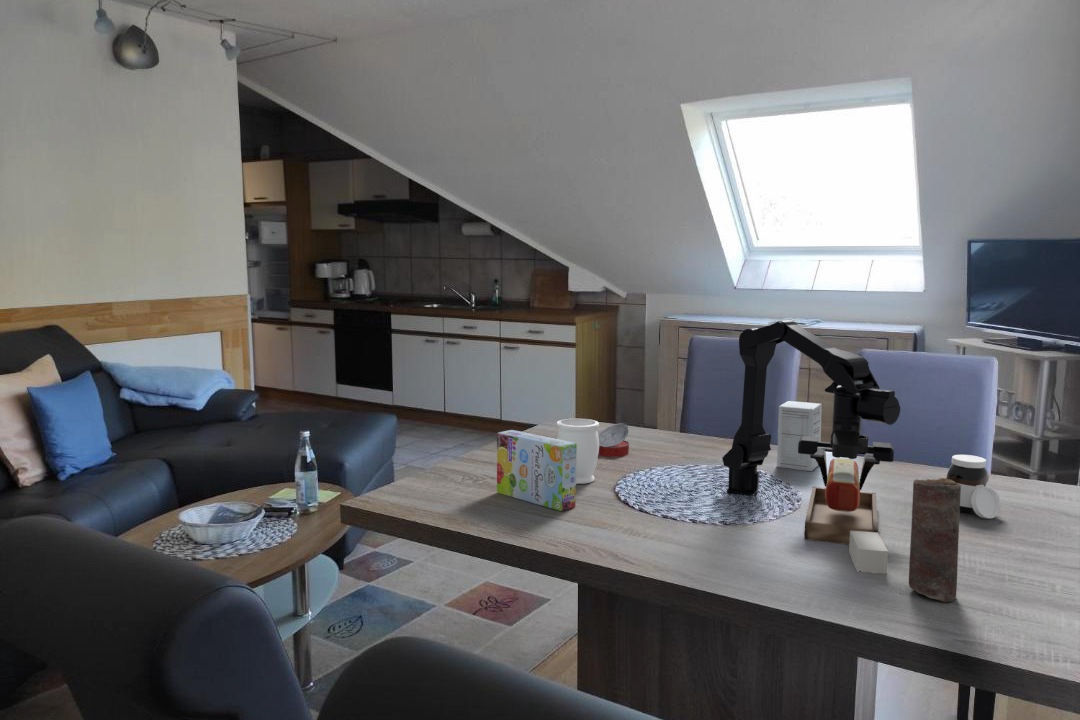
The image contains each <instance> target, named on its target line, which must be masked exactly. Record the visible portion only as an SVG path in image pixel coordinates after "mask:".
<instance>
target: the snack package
mask: <svg viewBox="0 0 1080 720" xmlns="http://www.w3.org/2000/svg"><path fill="white" fill-rule="evenodd" d="M859 474H860V473H859V465H858V463H857V461H855V459H849V458H843V457H840V458H836V457H835V458H833V459H831V460H830V462H829V466H828V470H827V485H826V486H825V487H824V488H825V499H826V503H827V505H828V507H829V508H830V509H833V510H836V511H843V512H851V511H855V510H856V509H857V508H858V506H859V503H860V492H861V490H860V485H859V482H860V476H859Z"/></svg>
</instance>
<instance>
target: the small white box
mask: <svg viewBox="0 0 1080 720" xmlns="http://www.w3.org/2000/svg"><path fill="white" fill-rule="evenodd" d="M848 546H849V547H848V553H849V555H851V556H850V558H851V560H852V562H854V563H853V565H854V568H855V570H856V569H857V570H856V572H857V571H861V572H860V573H865V572H871V573H870V574H878V573H885V574H884V575H888V561H889V560H888V559H889V550H888V549H887V547H886V545H885V543H884V541H883V539H882V538H881V535H880V534H879V532H878V533H877V532H863V531H850V542H849V545H848ZM872 572H873V573H872Z"/></svg>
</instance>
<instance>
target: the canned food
mask: <svg viewBox="0 0 1080 720" xmlns="http://www.w3.org/2000/svg"><path fill="white" fill-rule="evenodd" d="M628 434H629V426H628V425H627V424H626V423H625V422H619V423H615V424H612V425H610V426H608V427H606V428H605V429H604V430H602V431H600V432H599V433H598V436H599V453H598V456H601V457H606V458H621V457H625V456H628V455H629V453H630V452H629V451H630V450H629V449H630V446H629V445H630V443H629V442H628V441H626V440H625V439H626V438H627V437H628Z"/></svg>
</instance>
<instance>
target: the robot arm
mask: <svg viewBox="0 0 1080 720" xmlns="http://www.w3.org/2000/svg"><path fill="white" fill-rule="evenodd" d="M782 343H787V344H788V345H789V346H791V347H792V348H794V349H796V350H797V351H798V352H800V353H801V354H802V355H804V356H806V357H808V358H809V359H811V360H813V361H814V362H815V363H817V364H818V365H819V366H820V367H821V369H822V371H823V373H824V374H825V375H826V376H827V377H828V379H830V380H831V381H832V383H831V384H830V385H828V386H827V387H826V388H825V389H824V392H826V393H830V394H833V400H832V405H833V406H832V417H831V418H832V421H831V422H832V423H831V434H830V441H829V442H828V441H821V442H819V437H812V436H802V437H801V438H800V439H799V443H798V453H800V454H809V455H810V458H813V459H815V460H816V461H817V463H818V468H819V469H820V473H821V477H822V481H823V484H824V487H826V485H827V478H828V469H827V468H828V467H827V464H828V463H827V455H826V453H827V452H831V456H832V457H833V458H835V459H836V458H844V459H852V460H855V459H857V458H858V455H864V456H863V457H864V458H863V462H862V468H861V473H860V476H859V485H860V491H862V489H863V486H864V485H865V481H866V479H867V477H868V475H869V473H870V471H871V470H872V468H873V467H874V466H875V465H880V464H881V462H887V463H892V462H893V463H894V457H895V449H894V445H892V443H891V442H881V441H872V445H869V435H867V434H861V433H862V420H864V421H869V422H874V423H878V424H884V425H889V426H891V425H894V424H895V423H896V422H897V421H898V420H899V417H900V414H901V405H900V402H899V399H898V398H897V397H896V395H895V394H896V392H895V390H891V389H887V390H886V389H881V388H880V386H879V384H878V382H877V380H876V378H875V376H874V375H873V373H872V371H871V369H870V367H869V362H868V360H867V359H866V358H865V357H863V356H861V355H858V354H856V353H853V352H851V351H846V350H841V349H839V348H836V347H834V346H832V345H831V344H829V343H827V342H826V341H825V340H823V339H821V338H819V337H818V336H817V335H814V334H813V333H812V332H810V331H808V329H807V330H806V329H805V328H803V327H802V326H800V325H798V323H797V322H796V321H794V320H791V319H789V320H778V321H776V322H775V323H771V324H768V325H766V326H763V327H754V328H746V329H744V330H743V331H742V332H741V333H740V334H739V337H738V349H739V350H738V351H739V355H740V358H741V360H742V362H743V364H744V375H743V376H744V377H743V389H742V390H743V392H742V394H743V395H742V407H741V421H740V425H739V427H738V428H737V430H736V432H735V434H734V436H733V440H732V443H731V444H732V445H731V448H730V450H728V451H727V452H726V453H725V454H724V455H723V456H722V459H721V460H722V463H723V466H724V467H726V468H728V483H727V484H728V486H727V487H728V488H727V489H726V492H727V493H731V492H736V493H735V494H740V493H746V494H745V495H750V494H754V495H756V492H757V491H758V490H759V488H760V487H759V486H760V471H758V466H762V465H763V464H764V460H765V458H766V457H768V455H769V452H770V451H771V450H772V449H771V440H772V435H771V433H767V432H766V430H765V428H764V426H763V425H764V410H765V409H764V408H765V398H766V397H765V396H766V382H767V372H768V371H767V370H768V369H767V368H768V365H769V364H770V362H771V360H772V359H773V357H774V356H775V351H776V347H777V345H779V344H782Z"/></svg>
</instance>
